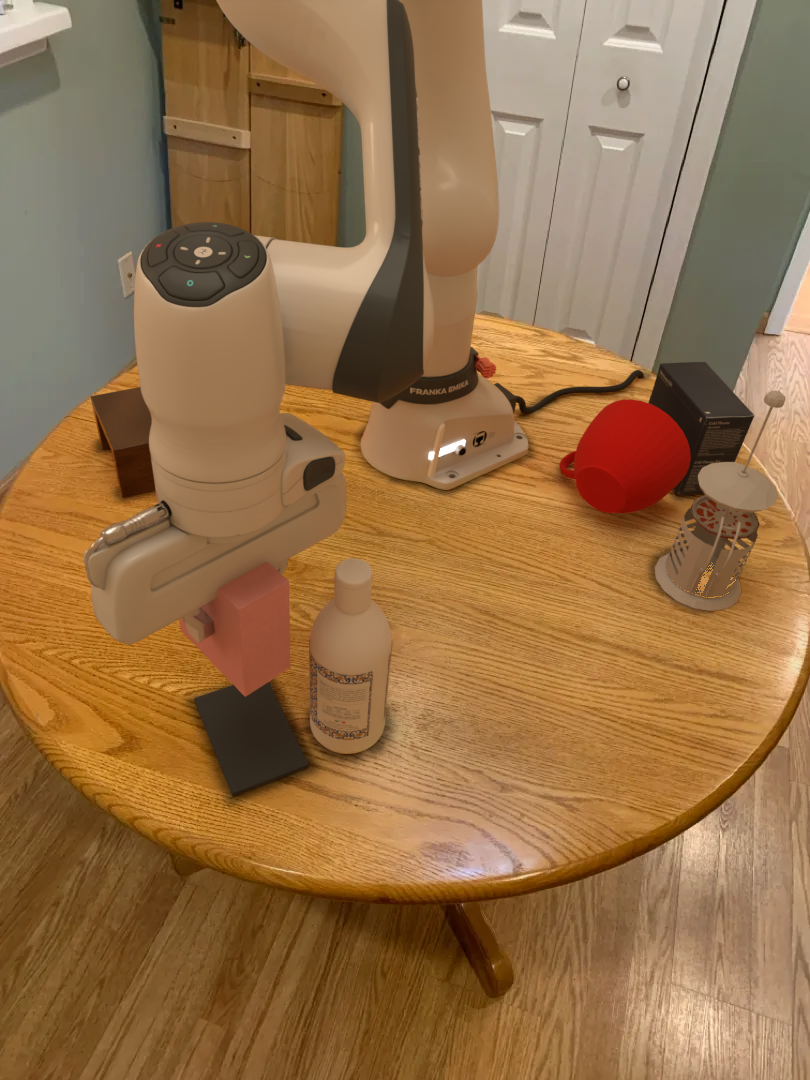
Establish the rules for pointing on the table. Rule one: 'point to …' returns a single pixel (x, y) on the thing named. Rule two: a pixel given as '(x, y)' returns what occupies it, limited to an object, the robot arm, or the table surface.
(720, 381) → the small box
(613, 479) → the ceramic cup
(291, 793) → the table surface
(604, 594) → the table surface
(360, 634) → the bath foam
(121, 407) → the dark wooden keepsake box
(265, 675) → the block
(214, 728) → the mat
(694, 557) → the french press
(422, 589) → the table surface
